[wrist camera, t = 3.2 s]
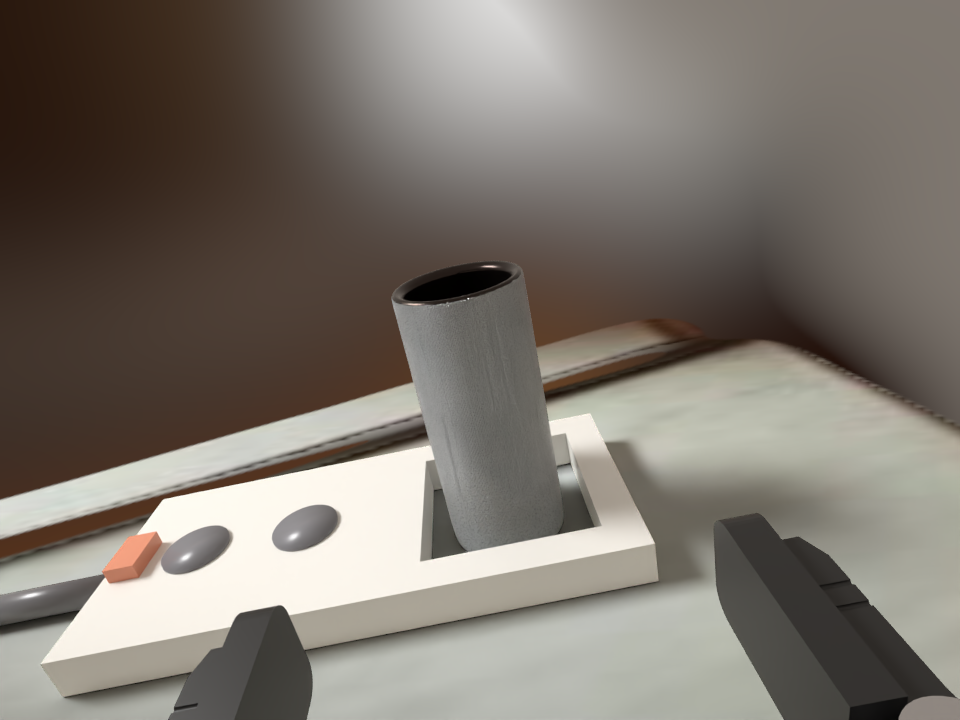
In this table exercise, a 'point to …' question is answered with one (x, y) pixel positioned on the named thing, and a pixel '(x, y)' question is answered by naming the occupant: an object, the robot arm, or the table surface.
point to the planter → (482, 401)
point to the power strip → (325, 564)
